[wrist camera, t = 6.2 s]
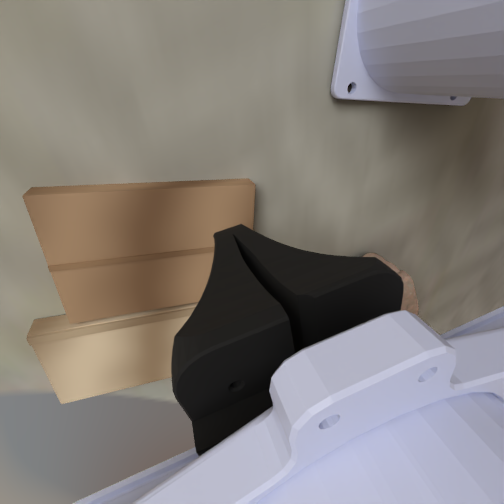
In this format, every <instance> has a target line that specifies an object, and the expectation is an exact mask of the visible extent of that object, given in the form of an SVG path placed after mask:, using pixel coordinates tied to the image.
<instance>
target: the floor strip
mask: <svg viewBox="0 0 504 504" xmlns="http://www.w3.org/2000/svg"><path fill="white" fill-rule="evenodd" d="M197 304H198V302H195V303H189V304H183V305H177V306H171V307H166V308H160V309H154V310H148V311H142V312H137V313H131V314H125V315H119V316H113V317H107V318H102V319H96V320H90V321H84V322H78V323H73V324H70V323H69V320H68V317H67V315H60V316H54V317H48V318H42V319H35V320H34V321H33V324H32V326H31V328H30V330H29V333H28V335H27V338H26V339H27V341H28V343H29V345H32V347H33V349H34V351H35V353H36V355H37V357H38V359H39V361H40V363H41V365H42V367H43V369H44V371H45V373H46V375H47V377H48V379H49V381H50V383H51V385H52V387H53V389H54V391H55V393H56V395H57V396H58V398H59V400H60V402H61V404H64V403H68V402H72V401H76V400H81V399H84V398H88V397H93V396H97V395H101V394H105V393H109V392H113V391H117V390H121V389H125V388H129V387H133V386H138V385H142V384H146V383H150V382H154V381H158V380H162V379H166V378H170V377H172V375H171V360H172V349H173V342H174V336H175V335H176V334H177V333H178V331H179V330H180V329H181V328H182V326H183V325H184V324H185V322H186V321H187V320H188V319H189V317H190V316H191V314H192V312H193V311H194V309H195V307H196V306H197Z"/></svg>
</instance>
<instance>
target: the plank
mask: <svg viewBox="0 0 504 504" xmlns="http://www.w3.org/2000/svg"><path fill="white" fill-rule="evenodd" d="M23 199H24V202H25V204H26V207H27V210H28V212H29V215H30V218H31V220H32V223H33V226H34V229H35V231H36V234H37V237H38V239H39V242H40V245H41V247H42V250H43V253H44V255H45V258H46V261H47V264H48V268H49V271H50V272H51V274H52V277H53V280H54V282H55V285H56V288H57V290H58V293H59V296H60V298H61V301H62V304H63V307H64V309H65V312H66V315H67V317H68V320H69V323H70V324H73V323H78V322H84V321H90V320H96V319H102V318H107V317H113V316H119V315H125V314H131V313H137V312H142V311H148V310H154V309H160V308H166V307H171V306H177V305H183V304H189V303H195V302H199V300H200V298H201V296H202V294H203V292H204V289H205V287H206V285H207V282H208V279H209V276H210V272H211V268H212V263H213V258H214V246H215V243H214V237H213V235H214V233H216V232H219V231H222V230H224V229H227V228H230V227H233V226H236V225H239V224H242V225H244V226H246V227H248V228H250V229H252V230H253V220H254V202H255V184H254V183H253V182H252V181H251V180H250V179H225V180H201V181H176V182H152V183H128V184H104V185H80V186H55V187H32V188H30V189H29V190H28V191H27V192H26V193H25V194H24V195H23Z"/></svg>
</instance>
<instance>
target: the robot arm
mask: <svg viewBox="0 0 504 504" xmlns="http://www.w3.org/2000/svg"><path fill="white" fill-rule="evenodd" d="M350 83H351V85H352V89H351V91H350V92H349V93H348V91H347V88H348V85H349V84H350ZM331 94H332V96H333V97H334V98H336V99H348V100H366V101H384V102H403V103H421V104H439V105H457V106H463V105H466V104H467V103H468V102H469V101H470V99H471V98H472V97H480V98H501V99H504V0H346V1H345V7H344V13H343V19H342V24H341V30H340V36H339V42H338V48H337V54H336V60H335V66H334V72H333V78H332V83H331ZM450 96H451V97H450ZM213 237H214V243H215V246H214V258H213V263H212V268H211V272H210V276H209V279H208V282H207V285H206V287H205V289H204V292H203V294H202V296H201V298H200V300H199V302H198V304H197V306H196V307H195V309H194V311H193V312H192V314H191V316H190V317H189V319H188V320H187V321H186V322H185V324H184V325H183V326H182V328H181V329H180V330H179V331H178V333H177V334H176V335H175V336H174V342H173V349H172V360H171V375H172V386H173V392H174V395H175V397H176V399H177V401H178V402H179V404H180V405H181V407H182V408H183V409H184V411H185V412H186V414H187V415H188V417H189V418H190V419H191V421H192V426H193V433H194V440H195V447H194V448H192V449H190V450H188V451H185V452H183V453H181V454H179V455H177V456H174V457H172V458H170V459H168V460H166V461H163V462H161V463H159V464H157V465H155V466H153V467H150V468H148V469H146V470H144V471H142V472H139V473H137V474H135V475H133V476H131V477H128V478H126V479H124V480H122V481H120V482H118V483H115V484H113V485H111V486H109V487H107V488H105V489H102V490H100V491H98V492H96V493H93V494H91V495H89V496H87V497H85V498H83V499H80V500H78V501H76V502H74V503H72V504H504V306H502V307H500V308H498V309H496V310H494V311H492V312H489V313H487V314H485V315H483V316H481V317H478V318H476V319H474V320H472V321H470V322H467V323H465V324H463V325H461V326H459V327H457V328H454V329H452V330H450V331H448V332H446V333H443V334H441V335H439V334H437V333H436V332H435V331H434V330H433V329H432V328H431V327H429V326H428V325H427V324H426V323H425V322H424V321H422V320H421V319H420V318H419V317H418V316H417V315H415V314H413V313H411V312H408V311H406V310H401V305H402V299H403V292H404V283H403V281H402V278H401V276H400V275H398V274H397V273H396V272H395V271H394V270H392V269H391V268H390V267H389V266H387V265H386V264H385V263H383V262H382V261H381V260H379V259H378V258H376V257H346V256H334V255H326V254H319V253H314V252H309V251H304V250H300V249H297V248H293V247H290V246H287V245H284V244H281V243H279V242H276V241H274V240H271V239H269V238H267V237H265V236H263V235H261V234H259V233H257V232H255V231H253V230H252V229H250V228H248V227H246V226H244V225H242V224H239V225H236V226H233V227H230V228H227V229H224V230H222V231H219V232H216V233H214V235H213Z"/></svg>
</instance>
